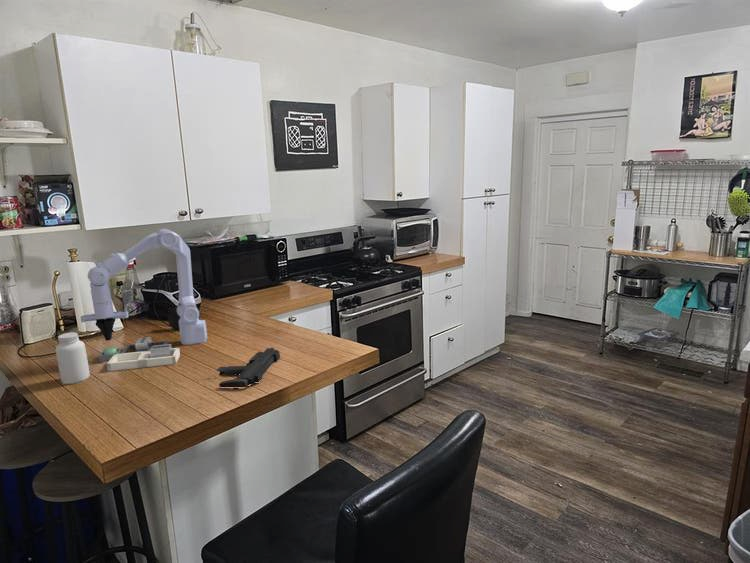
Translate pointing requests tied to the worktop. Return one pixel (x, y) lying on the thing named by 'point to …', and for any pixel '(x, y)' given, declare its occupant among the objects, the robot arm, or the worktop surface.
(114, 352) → the button
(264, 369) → the firearm
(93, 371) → the worktop surface
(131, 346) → the tote
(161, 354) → the seated billet
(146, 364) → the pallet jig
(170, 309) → the rock
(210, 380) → the worktop surface
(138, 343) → the block
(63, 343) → the pill bottle
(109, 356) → the button housing
